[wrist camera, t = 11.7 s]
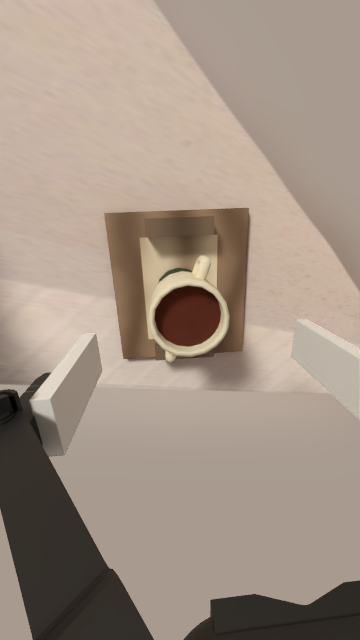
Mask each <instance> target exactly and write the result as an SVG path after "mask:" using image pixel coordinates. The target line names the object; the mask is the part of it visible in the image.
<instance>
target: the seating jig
mask: <svg viewBox="0 0 360 640" xmlns="http://www.w3.org/2000/svg"><path fill="white" fill-rule="evenodd" d="M104 214H105V222H106V229H107V237H108V245H109V252H110V260H111V267H112V275H113V283H114V290H115V298H116V305H117V313H118V321H119V328H120V336H121V343H122V351H123V359H130V358H145V357H156V360H166V357H165V350H164V349H162V348H161V346H160V345H159V344H158V343H157V342H156V341H155V340H154V338H153V336H152V333H151V330H150V327H149V324H148V320H149V311H150V304H151V299H152V294H153V292H154V290H155V289H156V287H157V285H158V282H159V279H160V278H161V277H162V276H163V275H164V274H165V273H166V272H167V271H169V270H172V269H175V268H186V269H189V270H191V271H193V268H194V265H195V263H196V260H197V259H198V257H199V256H206V257H208V258H209V259H210V260H211V266H210V270H209V272H208V275H207V277H206V280H208V281H209V282H210V283H212V284H213V285H214V286H215V287H216V288H217V289H218V291H219V292H220V294H221V295H222V297H223V298H224V300H225V301H226V303H227V307H228V311H229V315H230V319H229V327H228V330H227V333H226V335H225V337H224V338H223V340H222V341H221V342H220V343H219V344H218V345H217V346H216V347H215V348H213V349H211V350H210V351H208V352H207V353H205V354H201V355H197V356H193V357H185V356H176V358H175V359H183V358H198V357H212V356H214V353H219V352H234V351H242V338H243V317H244V297H245V276H246V256H247V235H248V214H249V208H233V209H206V210H179V211H152V212H125V213H104Z"/></svg>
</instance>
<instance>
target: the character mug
mask: <svg viewBox="0 0 360 640" xmlns="http://www.w3.org/2000/svg"><path fill="white" fill-rule="evenodd" d="M210 266H211V260H210V259H209V258H208V257H206V256H199V257H198V259H197V260H196V263H195V265H194V268H193V271H191V270H189V269H186V268H175V269H172V270H169V271H167V272H166V273H165V274H164V275H163V276H162V277H161V278H160V279H159V282H158V285H157V287H156V289H155V290H154V292H153V294H152V299H151V304H150V311H149V320H148V324H149V327H150V330H151V333H152V336H153V338H154V340H155V341H156V342H157V343H158V344H159V345H160V346H161V348H162V349H164V350H165V357H166V360H167V361H168V362H169V363H170V362H173V361H174V360H175V358H176V356H185V357H193V356H197V355H201V354H205V353H207V352H208V351H210V350H211V349H213V348H215V347H216V346H217V345H218V344H219V343H220V342H221V341H222V340H223V338H224V337H225V335H226V333H227V330H228V327H229V319H230V315H229V311H228V307H227V303H226V301H225V300H224V298H223V297H222V295H221V294H220V292H219V291H218V289H217V288H216V287H215V286H214V285H213V284H212V283H210V282H209V281H208V280H206V277H207V275H208V272H209V270H210Z"/></svg>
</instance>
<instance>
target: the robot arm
mask: <svg viewBox="0 0 360 640" xmlns="http://www.w3.org/2000/svg"><path fill="white" fill-rule="evenodd" d="M291 357H292V358H293V359H294V360H295V361H296V362H297V363H298V364H299V365H301V366H302V367H303V368H304V369H305V370H306V371H307V372H308V373H309V374H310V375H311V376H313V377H314V378H315V379H316V380H317V381H318V382H319V383H320V384H321V385H322V386H323V387H325V388H326V389H327V390H328V391H329V392H330V393H331V394H332V395H333V396H334V397H335V398H337V399H338V400H339V401H340V402H341V403H342V404H343V405H344V406H345V407H346V408H347V409H349V410H350V411H351V412H352V413H353V414H354V415H355V416H356V417H357V418H358V419H359V420H360V349H359V348H357V347H356V346H354V345H352V344H350V343H348V342H347V341H345V340H343V339H341V338H339V337H338V336H336V335H334V334H332V333H331V332H329V331H327V330H325V329H323V328H322V327H320V326H318V325H316V324H314V323H313V322H311V321H309V320H307V319H303V320H296V322H295V330H294V338H293V346H292V354H291ZM101 372H102V366H101V360H100V354H99V348H98V342H97V336H96V333H84V334H83V335H82V336H81V337H80V339H79V340H78V341H77V342H76V344H75V345H74V346H73V347H72V348H71V350H70V351H69V352H68V353H67V355H66V356H65V357H64V358H63V360H62V361H61V362H60V363H59V364H58V366H57V367H56V368H55V369H54V371H53V372H52V373H45V374H43V375H42V376H40V377H38V378H37V379H36V380H35V381H34V382H33V383H32V384H31V385H30V387H29V388H28V389H27V390H26V392H25V393H23V394H22V396H21V397H20V398H19V396H18V393H17V391H15V390H10V389H8V390H1V391H0V509H1V513H2V516H3V521H4V525H5V529H6V533H7V537H8V541H9V545H10V549H11V553H12V557H13V561H14V565H15V569H16V573H17V577H18V581H19V585H20V589H21V593H22V597H23V601H24V605H25V609H26V613H27V617H28V621H29V625H30V629H31V633H32V638H33V640H154V639H153V637H152V635H151V634H150V632H149V630H148V628H147V626H146V625H145V623H144V621H143V619H142V618H141V616H140V614H139V612H138V610H137V609H136V607H135V605H134V603H133V601H132V600H131V598H130V596H129V594H128V592H127V591H126V589H125V587H124V585H123V583H122V582H121V580H120V579H119V577H118V575H117V574H116V573H115V571H114V570H113V569H109V567H108V566H107V564H106V563H105V561H104V559H103V557H102V556H101V554H100V552H99V550H98V548H97V546H96V544H95V543H94V541H93V539H92V537H91V535H90V533H89V532H88V530H87V528H86V526H85V524H84V522H83V520H82V518H81V517H80V515H79V513H78V511H77V509H76V507H75V506H74V504H73V502H72V500H71V498H70V496H69V494H68V493H67V491H66V489H65V487H64V485H63V483H62V482H61V480H60V478H59V476H58V474H57V472H56V470H55V469H54V467H53V465H52V463H51V461H50V459H49V456H60V455H65V453H66V451H67V449H68V446H69V444H70V442H71V440H72V437H73V435H74V433H75V431H76V428H77V426H78V424H79V422H80V419H81V417H82V415H83V413H84V410H85V408H86V406H87V404H88V401H89V399H90V397H91V395H92V392H93V390H94V388H95V386H96V384H97V381H98V379H99V377H100V375H101ZM210 612H211V616H210V617H209V618H208V619H206V620H204V621H203V622H201V623H200V624H199V625H197V626H196V627H195V628H194V629H193V630H192V631H191V632H190V633H189V634H188V635H187V636H186V638H184V640H360V581H353V582H345V583H342V584H341V585H339V586H338V587H336V588H335V589H333V590H331V591H330V592H328V593H327V594H325V595H323V596H322V597H320V598H319V599H317V600H316V601H314V602H313V603H311V604H309V605H299V604H295V603H290V602H286V601H282V600H277V599H273V598H269V597H265V596H261V595H256V594H252V595H245V596H236V597H228V598H221V599H214V600H211V611H210Z"/></svg>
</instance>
